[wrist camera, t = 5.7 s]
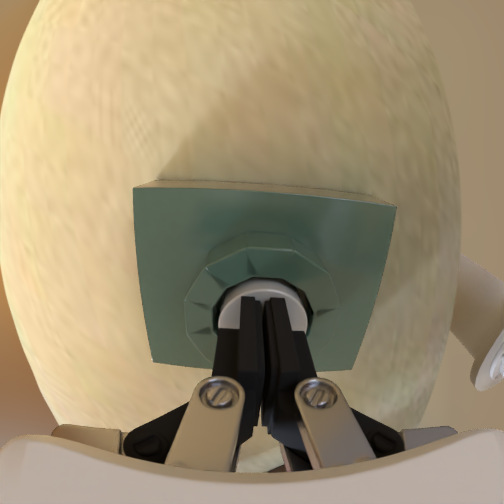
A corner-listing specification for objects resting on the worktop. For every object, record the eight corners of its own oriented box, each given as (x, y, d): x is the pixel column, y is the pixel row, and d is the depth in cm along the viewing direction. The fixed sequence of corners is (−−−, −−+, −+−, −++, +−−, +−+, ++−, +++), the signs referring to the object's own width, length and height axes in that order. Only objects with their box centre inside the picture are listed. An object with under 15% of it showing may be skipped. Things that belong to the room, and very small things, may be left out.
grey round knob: (305, 269, 12) (315, 291, 10) (294, 334, 13) (300, 361, 11) (223, 264, 12) (218, 286, 10) (221, 331, 13) (218, 359, 11)
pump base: (371, 195, 14) (420, 216, 9) (339, 340, 17) (360, 393, 13) (154, 180, 14) (111, 194, 9) (164, 332, 17) (143, 385, 12)
